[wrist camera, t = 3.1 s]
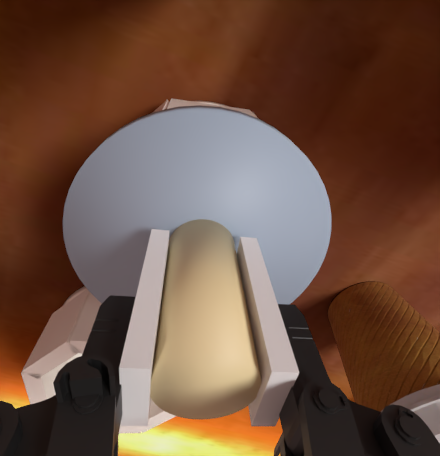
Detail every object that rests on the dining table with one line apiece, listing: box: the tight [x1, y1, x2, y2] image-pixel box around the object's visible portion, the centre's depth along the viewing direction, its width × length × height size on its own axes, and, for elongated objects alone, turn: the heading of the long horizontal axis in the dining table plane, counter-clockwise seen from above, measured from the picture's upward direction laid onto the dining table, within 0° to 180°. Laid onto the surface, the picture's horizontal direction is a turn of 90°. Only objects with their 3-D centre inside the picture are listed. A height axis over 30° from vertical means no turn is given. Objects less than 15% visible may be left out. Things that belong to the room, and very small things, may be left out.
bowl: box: [21, 286, 175, 433], centre depth 24 cm, size 11×11×6 cm
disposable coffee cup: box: [328, 282, 440, 443], centre depth 23 cm, size 10×10×12 cm
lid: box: [63, 105, 331, 419], centre depth 12 cm, size 13×13×8 cm
